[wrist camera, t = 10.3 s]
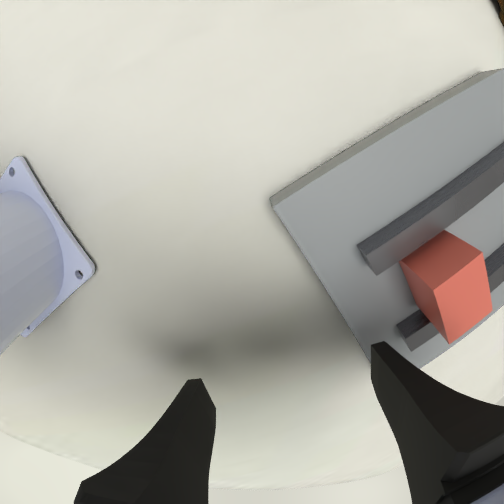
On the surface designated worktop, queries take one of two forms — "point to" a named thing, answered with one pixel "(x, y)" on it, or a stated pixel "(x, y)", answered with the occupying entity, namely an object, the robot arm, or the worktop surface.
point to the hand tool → (503, 14)
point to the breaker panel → (405, 212)
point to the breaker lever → (449, 284)
